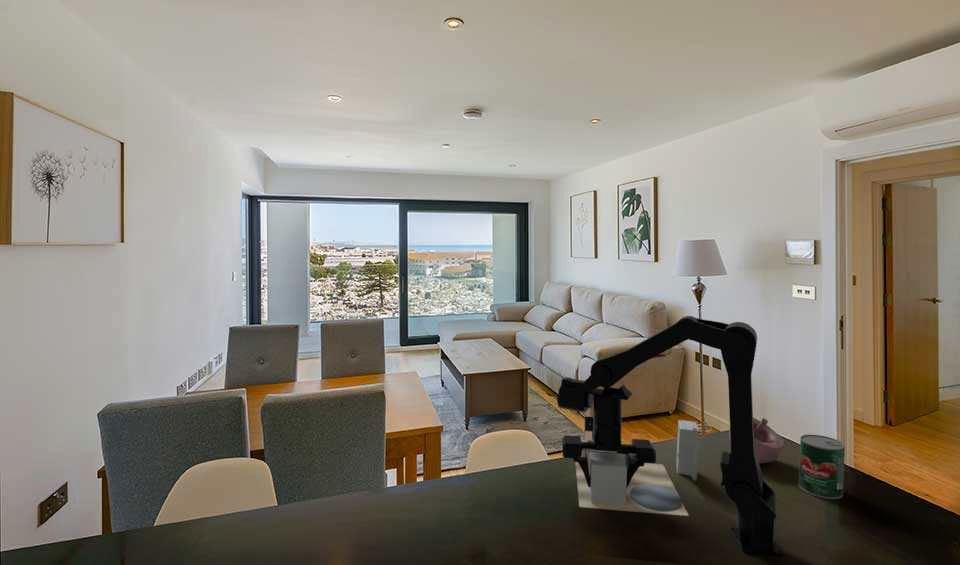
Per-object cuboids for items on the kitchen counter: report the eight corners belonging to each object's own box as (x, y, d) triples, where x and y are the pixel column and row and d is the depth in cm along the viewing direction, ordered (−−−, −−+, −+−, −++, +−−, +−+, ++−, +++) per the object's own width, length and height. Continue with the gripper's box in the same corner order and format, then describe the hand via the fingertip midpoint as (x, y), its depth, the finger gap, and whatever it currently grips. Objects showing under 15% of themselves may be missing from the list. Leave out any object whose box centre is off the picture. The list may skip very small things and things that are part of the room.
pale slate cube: (626, 505, 92) (626, 467, 92) (591, 502, 93) (591, 465, 93) (621, 487, 99) (621, 452, 98) (588, 485, 100) (589, 450, 100)
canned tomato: (801, 494, 98) (803, 444, 97) (795, 478, 105) (797, 431, 104) (847, 503, 94) (849, 451, 94) (838, 485, 101) (840, 438, 101)
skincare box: (675, 467, 111) (676, 419, 110) (695, 470, 109) (696, 421, 108) (677, 479, 105) (678, 428, 104) (698, 482, 103) (699, 430, 103)
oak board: (688, 521, 88) (688, 514, 88) (579, 512, 92) (579, 505, 92) (662, 468, 110) (662, 463, 110) (574, 463, 113) (575, 457, 113)
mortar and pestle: (775, 477, 105) (777, 429, 105) (721, 460, 114) (722, 416, 113) (789, 461, 113) (791, 416, 113) (737, 446, 122) (738, 405, 121)
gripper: (646, 405, 101) (645, 472, 102) (562, 401, 105) (561, 467, 105) (657, 423, 90) (656, 498, 91) (562, 419, 94) (562, 491, 95)
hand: (606, 487), depth 96 cm, fingers closed on pale slate cube, 7 cm apart
